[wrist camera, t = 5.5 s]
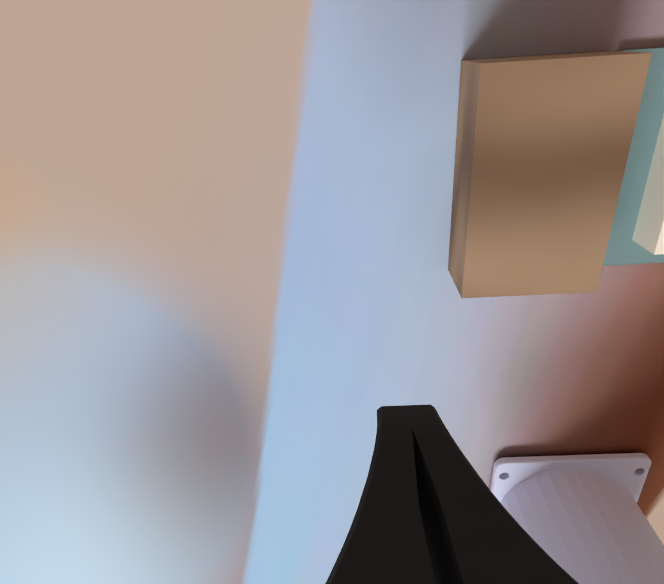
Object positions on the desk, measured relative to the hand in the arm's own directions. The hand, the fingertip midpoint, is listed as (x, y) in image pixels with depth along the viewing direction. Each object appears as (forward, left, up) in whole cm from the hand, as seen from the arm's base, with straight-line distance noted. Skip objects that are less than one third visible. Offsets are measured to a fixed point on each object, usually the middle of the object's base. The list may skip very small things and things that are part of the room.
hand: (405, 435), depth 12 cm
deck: (+4, -6, -9) cm, 12 cm away
